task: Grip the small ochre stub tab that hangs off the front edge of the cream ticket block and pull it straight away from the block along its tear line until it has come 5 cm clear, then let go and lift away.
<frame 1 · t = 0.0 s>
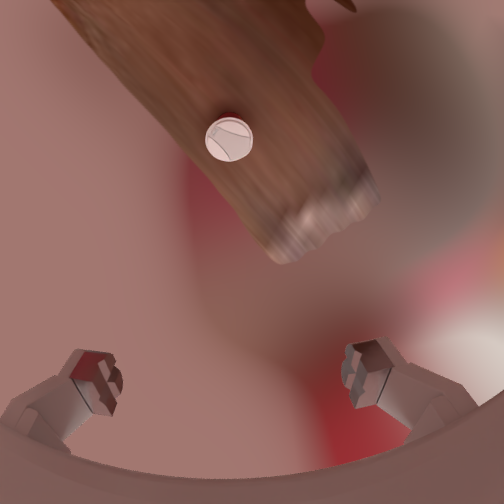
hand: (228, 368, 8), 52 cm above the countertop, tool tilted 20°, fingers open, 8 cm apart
paper cup: (229, 124, 51), on the countertop
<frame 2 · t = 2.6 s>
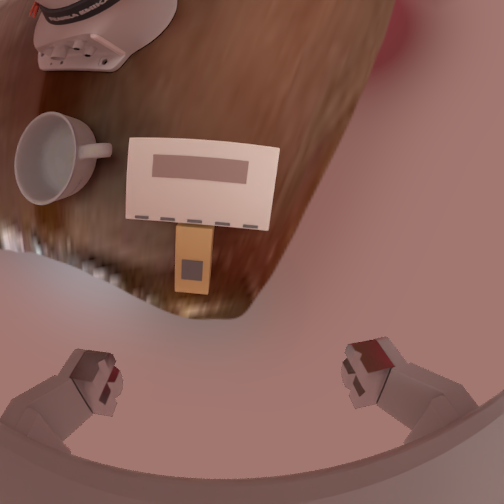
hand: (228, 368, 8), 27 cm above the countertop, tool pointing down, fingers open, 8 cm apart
stub: (194, 254, 32), point 3 cm above the countertop, slide at 0.0 cm
teacup: (83, 155, 29), on the countertop
ticket block: (202, 178, 32), on the countertop
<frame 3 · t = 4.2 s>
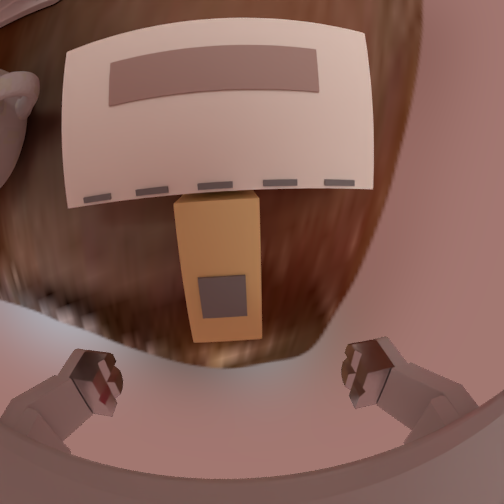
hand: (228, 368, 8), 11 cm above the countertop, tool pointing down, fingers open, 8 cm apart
stub: (222, 261, 16), point 3 cm above the countertop, slide at 0.0 cm
teacup: (15, 128, 13), on the countertop
ticket block: (215, 113, 15), on the countertop
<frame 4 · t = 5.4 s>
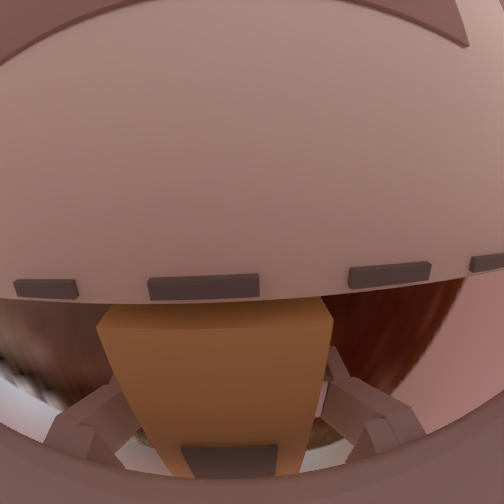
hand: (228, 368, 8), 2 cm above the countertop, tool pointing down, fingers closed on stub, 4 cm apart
stub: (228, 385, 8), point 3 cm above the countertop, slide at 0.0 cm, touching gripper
ticket block: (215, 86, 7), on the countertop
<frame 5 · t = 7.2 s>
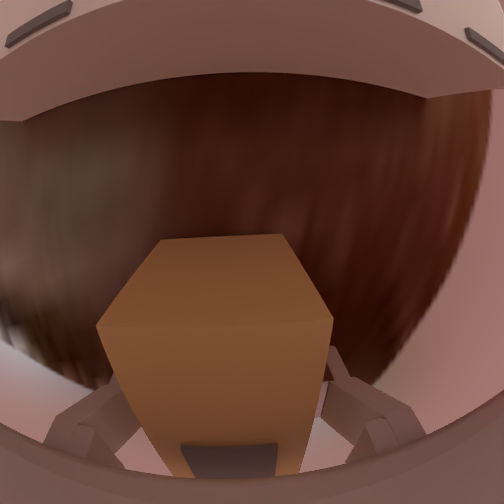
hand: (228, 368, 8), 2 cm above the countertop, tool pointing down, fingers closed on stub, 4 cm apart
stub: (228, 385, 8), point 3 cm above the countertop, slide at 5.0 cm, touching gripper
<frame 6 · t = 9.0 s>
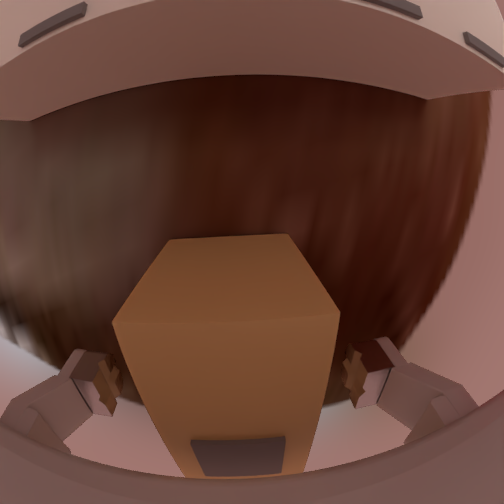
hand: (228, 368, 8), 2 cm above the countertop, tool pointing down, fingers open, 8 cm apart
stub: (236, 381, 8), point 3 cm above the countertop, slide at 5.0 cm
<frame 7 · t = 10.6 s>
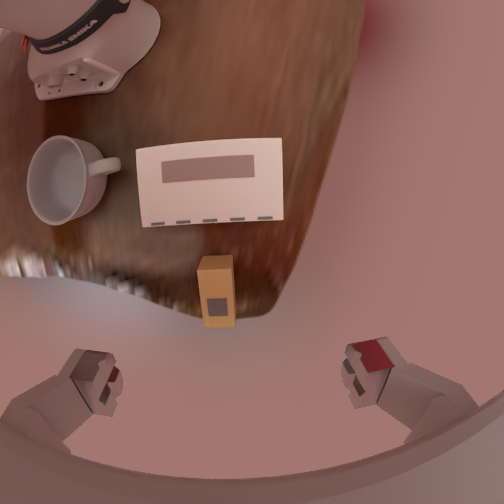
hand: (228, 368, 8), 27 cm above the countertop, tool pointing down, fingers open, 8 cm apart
stub: (218, 291, 35), point 3 cm above the countertop, slide at 5.0 cm
teacup: (94, 174, 32), on the countertop
ticket block: (212, 179, 33), on the countertop
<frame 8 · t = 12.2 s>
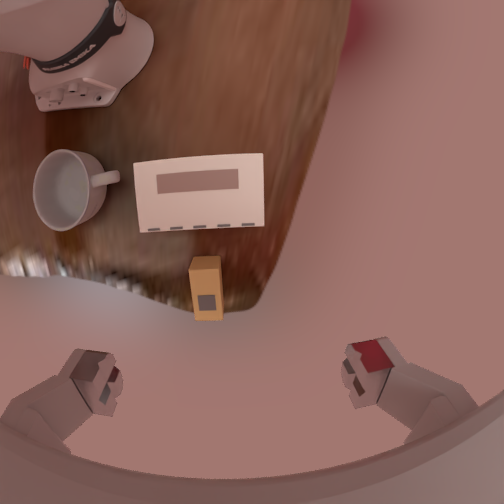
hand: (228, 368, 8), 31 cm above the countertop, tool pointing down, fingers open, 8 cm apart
stub: (207, 288, 39), point 3 cm above the countertop, slide at 5.0 cm
teacup: (94, 183, 35), on the countertop
ticket block: (202, 188, 37), on the countertop
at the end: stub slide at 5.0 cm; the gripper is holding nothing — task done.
